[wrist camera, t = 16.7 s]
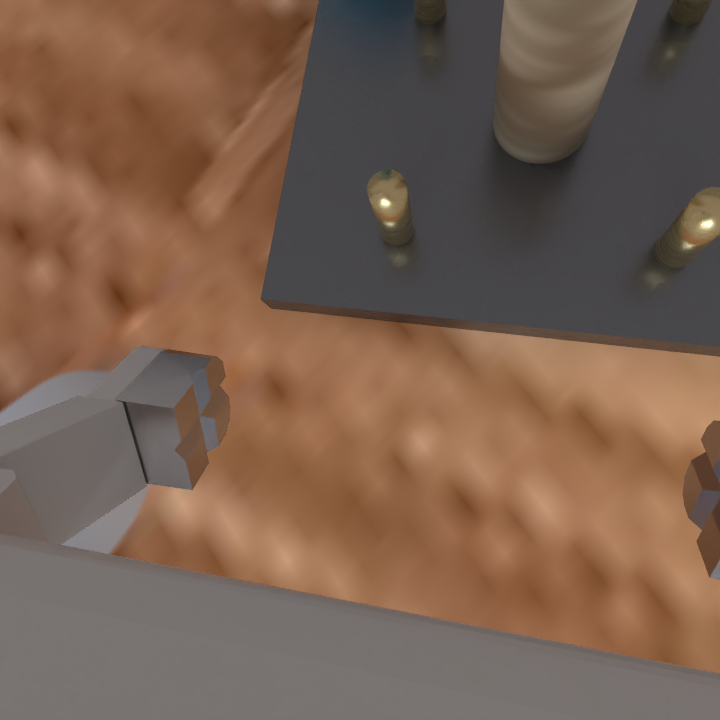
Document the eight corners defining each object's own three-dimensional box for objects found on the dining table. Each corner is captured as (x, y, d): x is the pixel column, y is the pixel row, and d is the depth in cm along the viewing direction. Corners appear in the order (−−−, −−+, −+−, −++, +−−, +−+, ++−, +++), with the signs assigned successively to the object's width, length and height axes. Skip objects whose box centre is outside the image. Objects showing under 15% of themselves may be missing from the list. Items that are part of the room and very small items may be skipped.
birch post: (487, 161, 26) (504, -23, 17) (498, 78, 27) (519, -142, 18) (586, 166, 26) (664, -25, 16) (594, 80, 26) (672, -151, 17)
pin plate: (270, 308, 28) (227, 268, 23) (335, -29, 32) (311, -131, 27) (810, 366, 24) (911, 332, 18) (814, -37, 27) (900, -161, 22)
